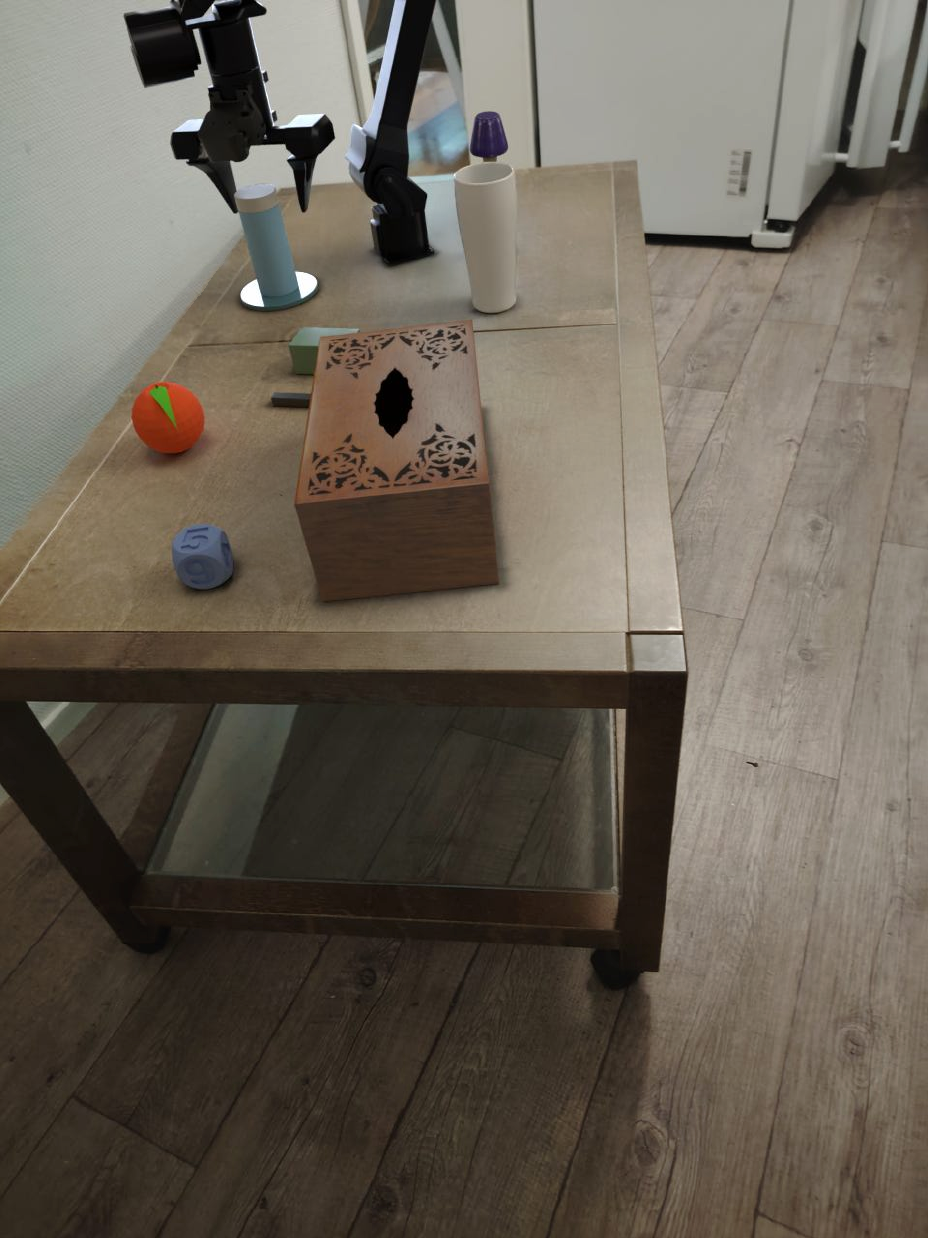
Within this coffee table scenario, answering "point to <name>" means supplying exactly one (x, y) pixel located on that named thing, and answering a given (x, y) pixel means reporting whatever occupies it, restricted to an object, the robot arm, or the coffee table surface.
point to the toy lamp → (488, 137)
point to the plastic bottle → (266, 239)
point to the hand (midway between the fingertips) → (270, 211)
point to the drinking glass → (488, 232)
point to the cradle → (305, 361)
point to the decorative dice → (202, 556)
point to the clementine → (168, 417)
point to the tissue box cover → (396, 464)
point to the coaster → (263, 303)
